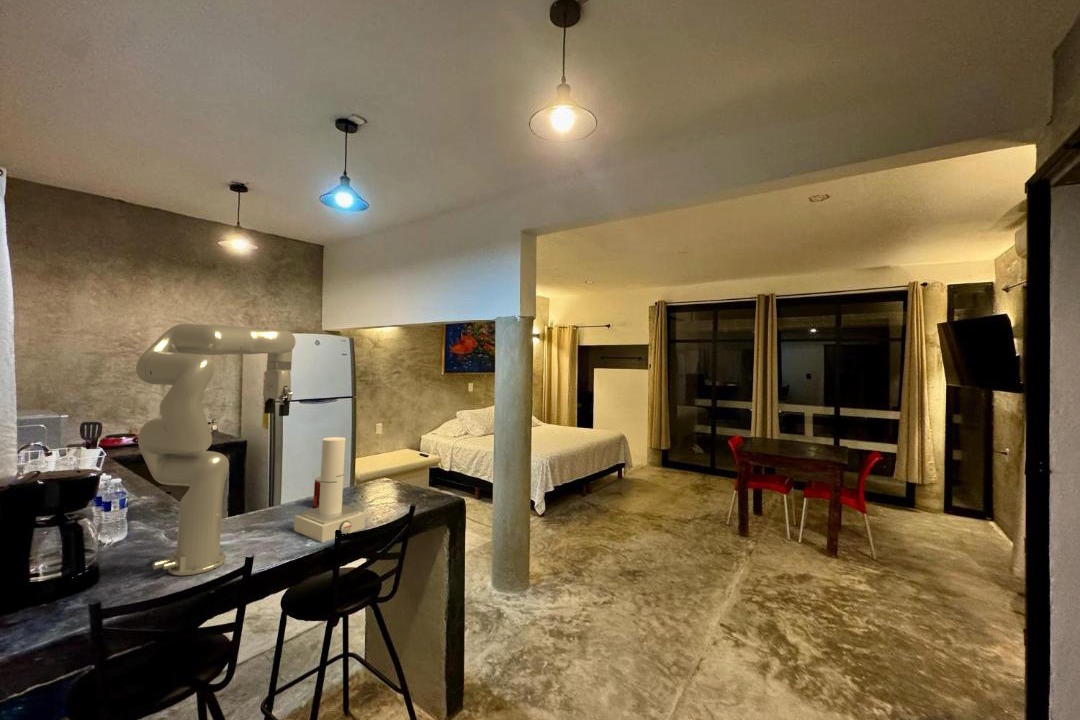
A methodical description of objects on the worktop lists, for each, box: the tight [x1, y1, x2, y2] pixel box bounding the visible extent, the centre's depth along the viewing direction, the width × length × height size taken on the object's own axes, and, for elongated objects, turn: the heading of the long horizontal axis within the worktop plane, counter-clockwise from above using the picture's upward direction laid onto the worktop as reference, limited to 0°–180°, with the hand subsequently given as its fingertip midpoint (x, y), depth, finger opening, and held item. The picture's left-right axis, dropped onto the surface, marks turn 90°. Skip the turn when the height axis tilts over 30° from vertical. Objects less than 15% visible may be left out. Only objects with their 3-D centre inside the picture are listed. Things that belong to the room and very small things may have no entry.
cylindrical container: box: [319, 436, 346, 515], centre depth 150 cm, size 7×7×25 cm
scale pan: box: [301, 503, 360, 524], centre depth 150 cm, size 13×13×1 cm
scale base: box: [293, 511, 367, 543], centre depth 150 cm, size 16×17×5 cm
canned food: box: [313, 476, 321, 508], centre depth 173 cm, size 8×8×11 cm
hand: (276, 414), depth 154 cm, fingers open, 9 cm apart
